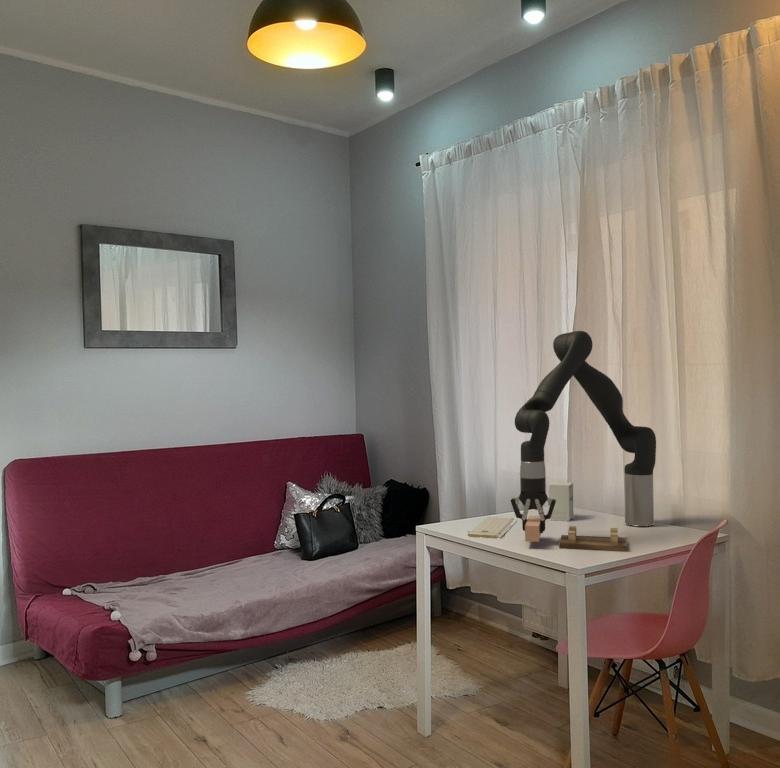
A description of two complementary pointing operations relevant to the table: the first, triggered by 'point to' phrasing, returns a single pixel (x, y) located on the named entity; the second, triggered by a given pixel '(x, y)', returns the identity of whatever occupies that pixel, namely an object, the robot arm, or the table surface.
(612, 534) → the cleated wooden board
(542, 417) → the robot arm
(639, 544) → the table surface
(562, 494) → the supplement box
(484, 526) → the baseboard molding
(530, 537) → the clay bar
